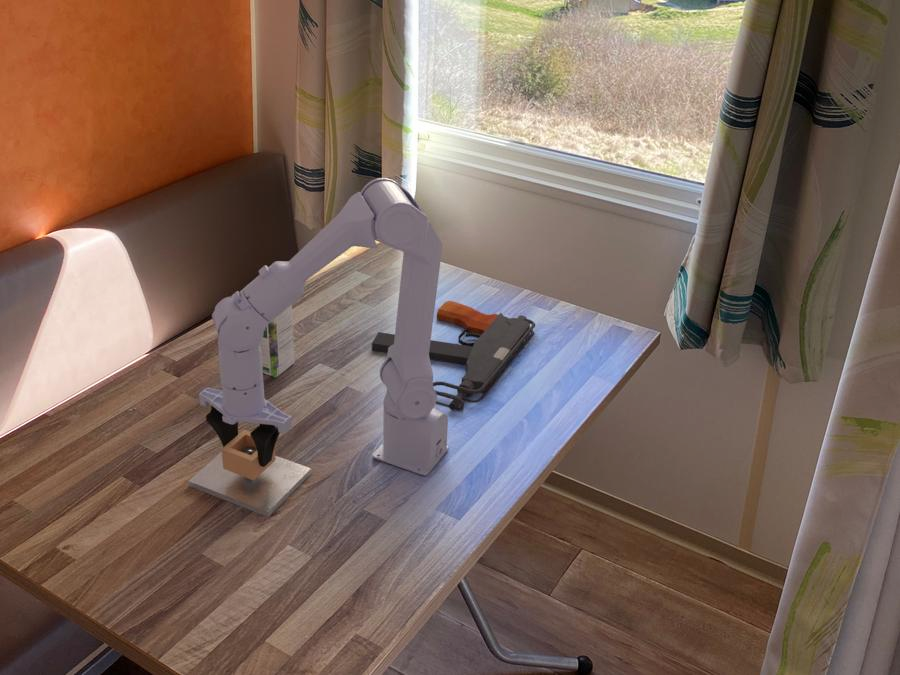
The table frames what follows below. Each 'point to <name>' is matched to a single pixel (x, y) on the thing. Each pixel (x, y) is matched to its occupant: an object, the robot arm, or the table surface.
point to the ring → (243, 457)
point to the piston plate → (252, 483)
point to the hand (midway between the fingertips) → (248, 456)
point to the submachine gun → (473, 348)
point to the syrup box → (278, 344)
